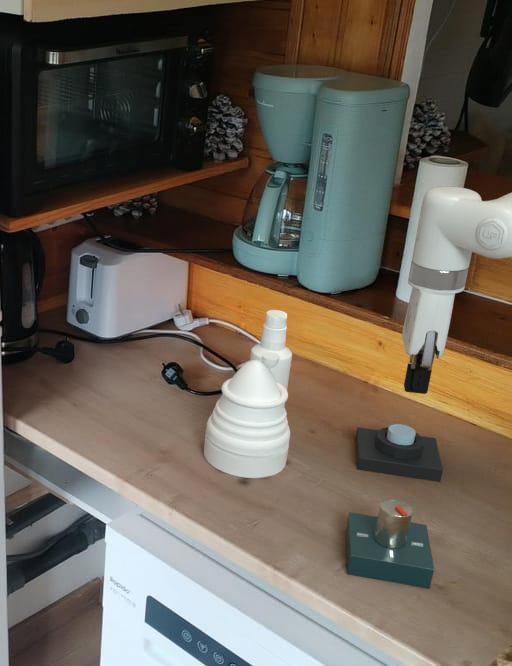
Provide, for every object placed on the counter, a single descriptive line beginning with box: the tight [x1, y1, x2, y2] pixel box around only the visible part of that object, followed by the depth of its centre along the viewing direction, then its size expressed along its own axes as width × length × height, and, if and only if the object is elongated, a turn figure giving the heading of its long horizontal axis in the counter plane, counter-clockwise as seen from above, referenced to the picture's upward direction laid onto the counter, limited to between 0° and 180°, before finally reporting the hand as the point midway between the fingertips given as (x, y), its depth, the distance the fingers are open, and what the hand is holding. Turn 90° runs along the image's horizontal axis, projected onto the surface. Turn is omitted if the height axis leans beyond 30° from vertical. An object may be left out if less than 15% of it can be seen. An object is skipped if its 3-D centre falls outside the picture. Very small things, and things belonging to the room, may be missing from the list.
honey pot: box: [203, 352, 292, 479], centre depth 139 cm, size 13×13×18 cm
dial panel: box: [345, 512, 435, 589], centre depth 119 cm, size 10×10×3 cm
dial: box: [374, 498, 414, 548], centre depth 118 cm, size 4×4×5 cm
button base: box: [354, 426, 444, 483], centre depth 142 cm, size 12×10×4 cm
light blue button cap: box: [387, 423, 417, 445], centre depth 141 cm, size 4×4×2 cm
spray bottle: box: [249, 309, 293, 408], centre depth 154 cm, size 7×7×18 cm
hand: (415, 390), depth 137 cm, fingers closed
